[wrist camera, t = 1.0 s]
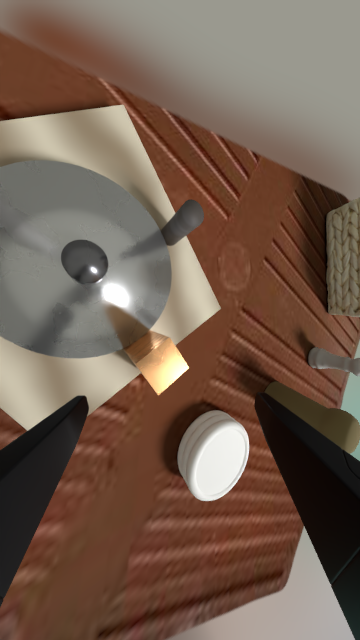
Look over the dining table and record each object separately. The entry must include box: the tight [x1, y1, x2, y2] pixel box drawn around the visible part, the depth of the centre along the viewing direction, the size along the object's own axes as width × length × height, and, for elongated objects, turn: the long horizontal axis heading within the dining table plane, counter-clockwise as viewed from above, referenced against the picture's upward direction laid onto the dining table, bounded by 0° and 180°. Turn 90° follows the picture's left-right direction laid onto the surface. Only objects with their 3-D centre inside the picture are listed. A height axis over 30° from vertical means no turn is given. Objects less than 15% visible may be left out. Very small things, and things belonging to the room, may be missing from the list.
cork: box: [265, 381, 360, 454], centre depth 26 cm, size 6×6×11 cm
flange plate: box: [0, 160, 189, 395], centre depth 13 cm, size 18×15×6 cm
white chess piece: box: [308, 347, 360, 376], centre depth 33 cm, size 4×4×8 cm
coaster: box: [177, 410, 249, 501], centre depth 23 cm, size 10×10×4 cm
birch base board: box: [0, 105, 221, 431], centre depth 13 cm, size 22×22×6 cm
